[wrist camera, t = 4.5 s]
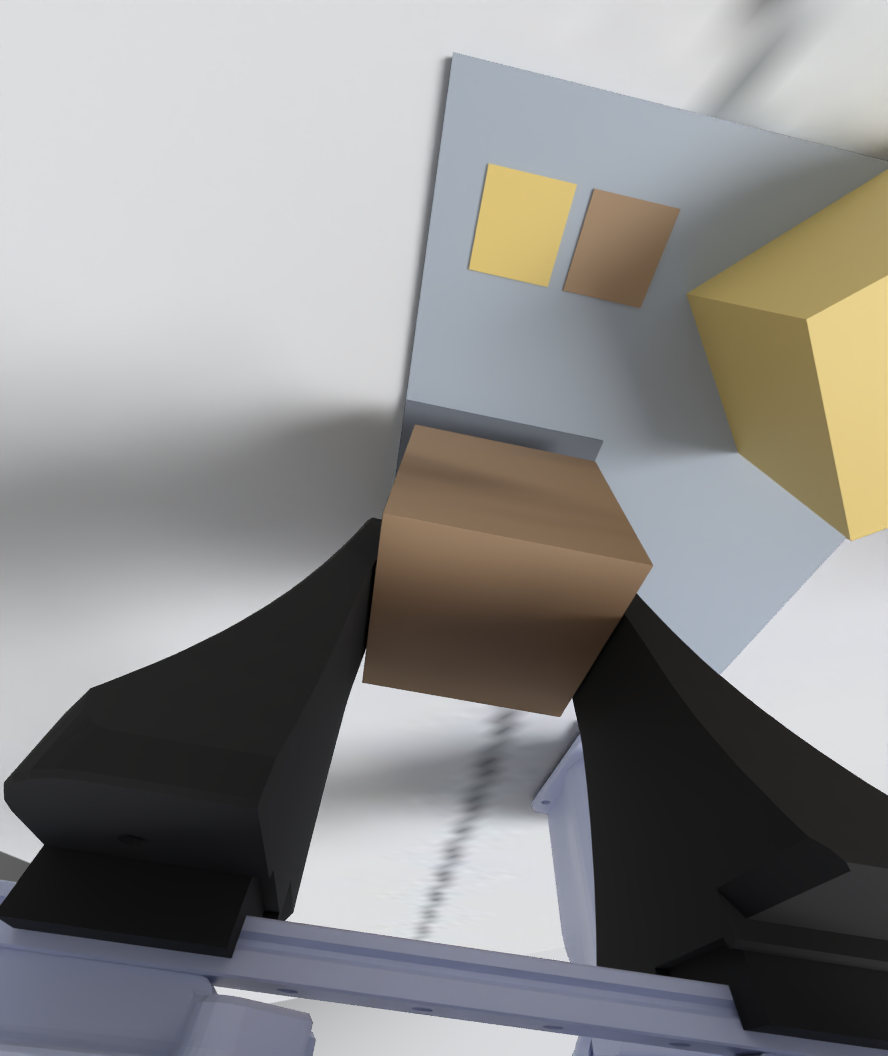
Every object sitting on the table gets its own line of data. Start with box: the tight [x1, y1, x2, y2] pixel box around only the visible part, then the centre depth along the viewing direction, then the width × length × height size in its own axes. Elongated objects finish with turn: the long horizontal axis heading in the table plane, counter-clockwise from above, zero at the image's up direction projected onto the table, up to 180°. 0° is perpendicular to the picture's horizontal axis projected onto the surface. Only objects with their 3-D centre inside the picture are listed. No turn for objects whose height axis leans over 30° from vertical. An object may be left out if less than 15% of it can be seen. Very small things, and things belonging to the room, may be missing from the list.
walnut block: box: [362, 424, 653, 717], centre depth 11 cm, size 5×5×4 cm
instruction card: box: [395, 52, 888, 675], centre depth 14 cm, size 18×15×1 cm
